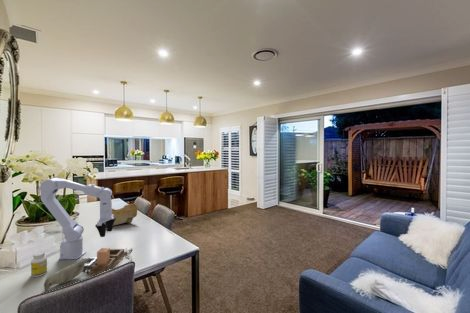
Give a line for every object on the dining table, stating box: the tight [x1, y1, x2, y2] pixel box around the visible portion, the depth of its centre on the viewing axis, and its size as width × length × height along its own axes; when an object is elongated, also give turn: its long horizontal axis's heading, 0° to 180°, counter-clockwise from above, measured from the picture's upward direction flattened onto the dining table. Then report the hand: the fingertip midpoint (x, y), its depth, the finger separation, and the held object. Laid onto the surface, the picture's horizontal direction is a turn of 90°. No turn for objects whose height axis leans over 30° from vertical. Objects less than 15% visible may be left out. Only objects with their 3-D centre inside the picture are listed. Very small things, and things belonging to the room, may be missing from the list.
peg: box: [96, 247, 111, 265], centre depth 107 cm, size 4×4×8 cm
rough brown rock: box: [104, 203, 138, 226], centre depth 172 cm, size 23×17×15 cm
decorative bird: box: [43, 258, 90, 292], centre depth 96 cm, size 5×16×7 cm, turn 147°
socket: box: [75, 256, 97, 270], centre depth 111 cm, size 8×8×2 cm
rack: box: [88, 248, 126, 275], centre depth 112 cm, size 9×20×3 cm, turn 5°
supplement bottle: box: [30, 250, 48, 278], centre depth 101 cm, size 5×5×10 cm
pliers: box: [122, 247, 133, 263], centre depth 120 cm, size 10×2×15 cm
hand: (106, 233), depth 123 cm, fingers open, 7 cm apart
